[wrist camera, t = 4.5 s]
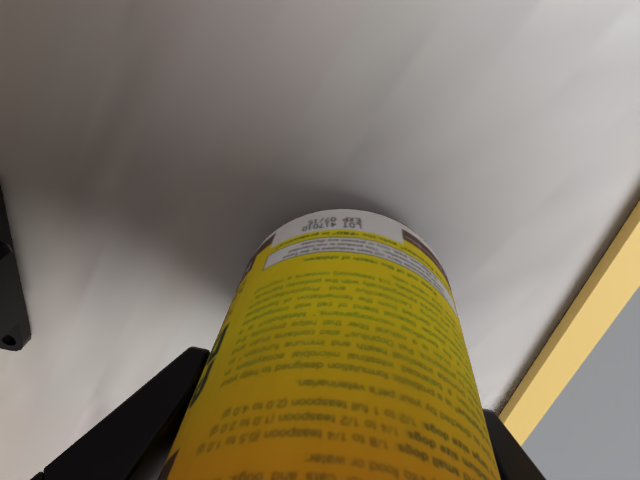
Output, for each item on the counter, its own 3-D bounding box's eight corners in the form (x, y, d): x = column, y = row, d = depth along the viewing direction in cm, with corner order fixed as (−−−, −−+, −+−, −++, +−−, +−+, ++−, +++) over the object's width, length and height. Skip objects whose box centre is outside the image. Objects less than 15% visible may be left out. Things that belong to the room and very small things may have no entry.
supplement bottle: (231, 201, 11) (-253, 994, 2) (455, 196, 11) (883, 1252, 2) (261, 358, 14) (85, 989, 5) (439, 362, 13) (574, 1086, 5)
